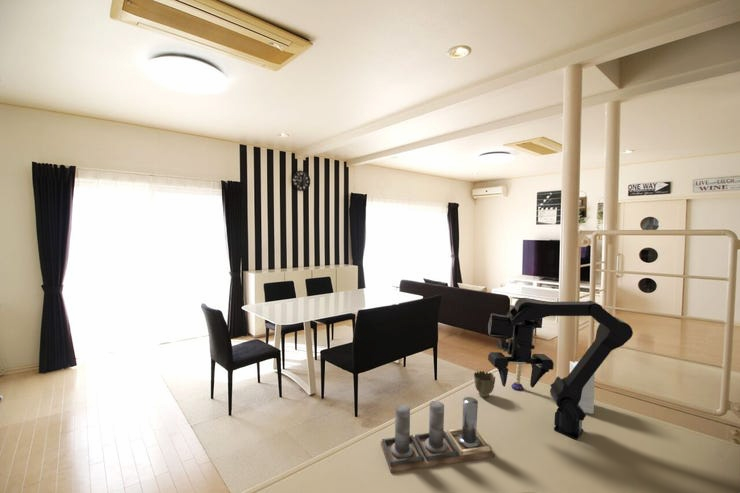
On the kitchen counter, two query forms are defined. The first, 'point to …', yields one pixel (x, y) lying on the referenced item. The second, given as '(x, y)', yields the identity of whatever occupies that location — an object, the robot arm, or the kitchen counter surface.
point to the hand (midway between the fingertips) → (517, 386)
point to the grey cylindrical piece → (469, 424)
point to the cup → (484, 383)
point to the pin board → (428, 443)
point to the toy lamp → (518, 379)
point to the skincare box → (586, 393)
